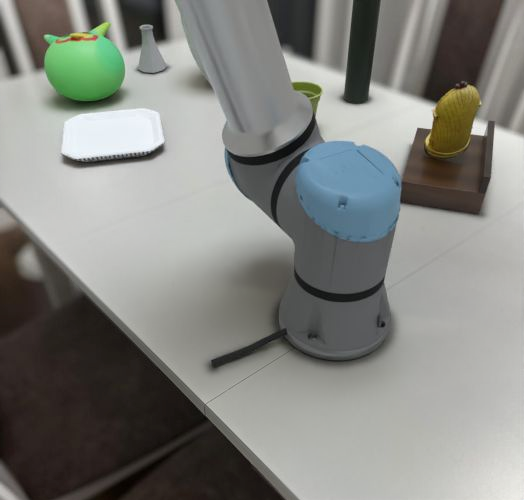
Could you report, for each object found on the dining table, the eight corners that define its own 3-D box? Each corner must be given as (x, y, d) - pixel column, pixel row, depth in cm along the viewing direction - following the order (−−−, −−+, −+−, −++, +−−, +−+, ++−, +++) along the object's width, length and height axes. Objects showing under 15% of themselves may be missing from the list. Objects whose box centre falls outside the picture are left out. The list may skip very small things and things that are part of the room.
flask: (153, 75, 137) (147, 32, 130) (133, 70, 140) (125, 28, 133) (171, 67, 141) (166, 24, 134) (151, 62, 144) (144, 20, 137)
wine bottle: (338, 98, 126) (352, -59, 104) (354, 91, 128) (371, -63, 107) (357, 105, 123) (375, -55, 101) (372, 98, 126) (394, -59, 104)
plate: (62, 170, 104) (59, 159, 103) (67, 125, 118) (64, 115, 116) (167, 158, 107) (165, 147, 105) (159, 115, 121) (158, 106, 119)
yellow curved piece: (466, 174, 93) (492, 85, 82) (419, 169, 95) (438, 80, 84) (466, 144, 101) (490, 59, 90) (423, 140, 102) (441, 55, 91)
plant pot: (272, 138, 112) (272, 96, 106) (282, 120, 118) (283, 79, 112) (315, 143, 110) (317, 101, 104) (324, 124, 117) (326, 83, 110)
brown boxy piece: (478, 214, 92) (491, 177, 87) (397, 201, 95) (404, 165, 90) (484, 155, 106) (495, 121, 101) (413, 146, 109) (420, 112, 104)
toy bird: (53, 115, 121) (32, 45, 111) (55, 88, 133) (36, 21, 122) (132, 107, 124) (119, 37, 113) (127, 80, 135) (115, 15, 125)
